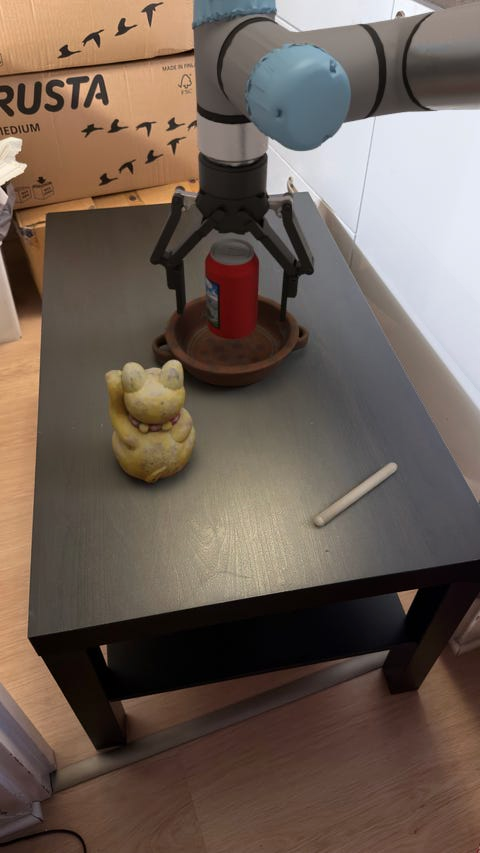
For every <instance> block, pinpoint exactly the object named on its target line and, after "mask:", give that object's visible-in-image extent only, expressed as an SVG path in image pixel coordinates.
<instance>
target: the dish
mask: <svg viewBox="0 0 480 853" xmlns="http://www.w3.org/2000/svg"><path fill="white" fill-rule="evenodd" d="M280 309H281V303H279V302H277V301H275V300H273V299H271V298H269V297H267V296H264V295H261V294H258V308H257V325H256V328H255V330H254V331H253V332H252V333H251V334H249V335H248V336H246V337H243V338H239V339H225V338H221V337H218V336H216V335H214V334H213V333H212V332H211V331H210V330H209V328H208V326H207V312H206V294H204V295H200V296H198V297H195V298H193V299H191V300H188V301H186V304H185V308H184V312H183V315H182V314H177V309H175V311H174V312H172V314H171V315H170V317H169V319H168V320H167V324H166V327H165V329H164V330H165V331H164V332H163V333H161V334H159V335H158V336H156V337H155V338H153V339H152V342H151V350H152V354H153V355H154V357H155V358H156V359H157V360H159V361H160V362H163V363H167V362H168V361H170V360H177V361H179V362H180V363H181V365H182V368H183V369H185V371H187V372H188V373H189V374H190V375H192V377H194V378H196V379H197V380H200V381H201V382H204V383H207V384H211V385H213V386H214V385H215V386H221V387H242V386H248V385H252V384H255V383H258V382H259V381H260V382H261V381H262V380H263V379H266V378H267V377H269V376H271V374H272V373H273V372H275V370H277V369H278V368H279V366H280V365H281V364H282V363H283V361H284V360H285V358H286V357H287V356H288V355H289V354H290V353H291V352H295V351H298V350H300V349H303V348H304V347H306V346H307V344H308V342H309V337H310V332H309V330H308V329H307V328H306V327H305V326H303V325H301V324H299V323H298V321H297V319H296V318H295V317H294V315H293V314H292V313H291V312H290V311H288V309H286V319H285V322H280ZM166 345H167V346H168V349H169V350H168V351H165V350H163V349H161V347H163V346H166Z"/></svg>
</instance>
